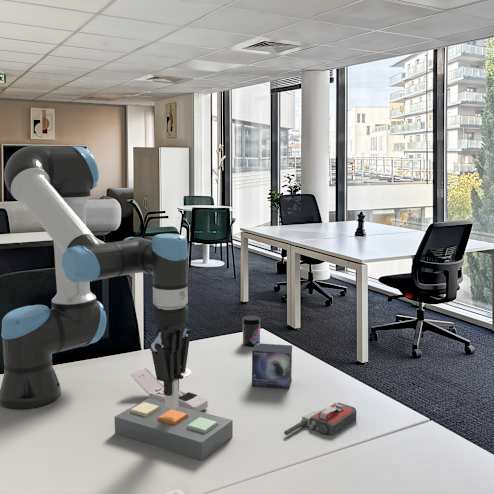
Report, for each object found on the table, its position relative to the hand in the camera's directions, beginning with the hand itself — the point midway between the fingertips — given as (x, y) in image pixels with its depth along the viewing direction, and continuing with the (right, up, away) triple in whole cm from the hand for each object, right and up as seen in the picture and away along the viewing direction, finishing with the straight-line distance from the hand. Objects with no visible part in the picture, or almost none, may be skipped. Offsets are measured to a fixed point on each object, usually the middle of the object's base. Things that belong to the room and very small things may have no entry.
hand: (171, 406), depth 133 cm
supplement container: (+18, +3, +65) cm, 67 cm away
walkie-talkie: (+34, -7, +5) cm, 35 cm away
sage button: (+7, -7, -3) cm, 10 cm away
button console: (0, -7, +1) cm, 7 cm away
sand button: (-7, -6, +5) cm, 10 cm away
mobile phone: (-3, -4, +19) cm, 19 cm away
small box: (+24, -2, +31) cm, 39 cm away
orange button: (0, -6, +1) cm, 6 cm away
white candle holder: (-1, -1, +41) cm, 41 cm away
